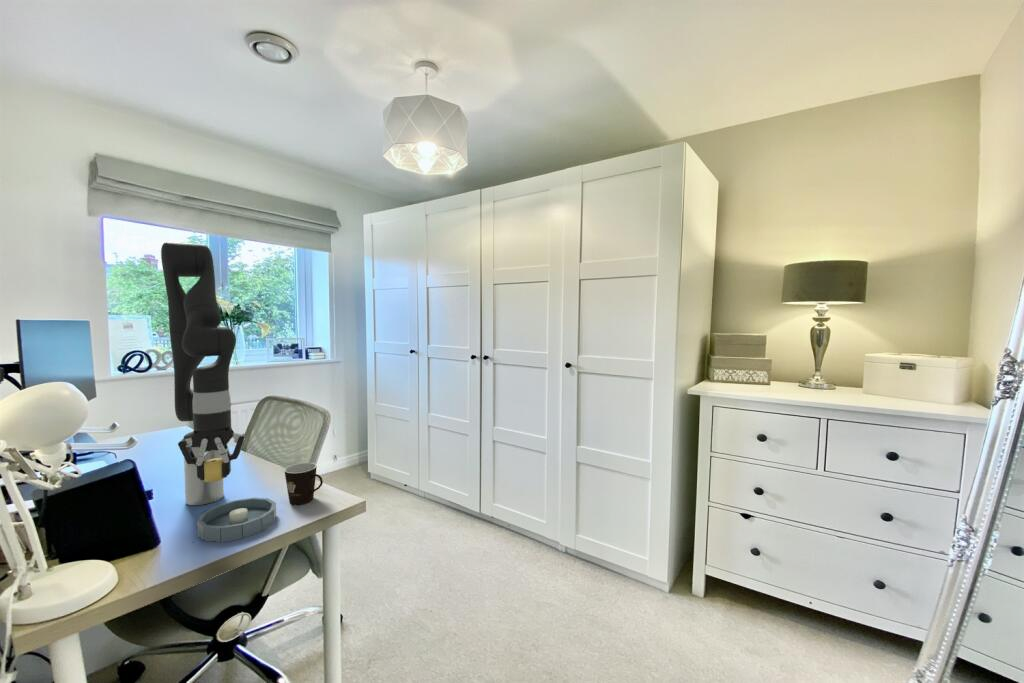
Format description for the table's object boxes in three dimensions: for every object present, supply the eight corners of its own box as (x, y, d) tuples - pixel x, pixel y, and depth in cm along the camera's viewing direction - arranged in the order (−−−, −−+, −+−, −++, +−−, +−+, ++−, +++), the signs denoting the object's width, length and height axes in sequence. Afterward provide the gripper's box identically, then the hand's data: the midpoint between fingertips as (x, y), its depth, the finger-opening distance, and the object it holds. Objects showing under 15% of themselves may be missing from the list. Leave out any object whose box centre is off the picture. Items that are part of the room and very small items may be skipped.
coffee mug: (281, 500, 125) (280, 467, 124) (311, 491, 131) (310, 460, 130) (294, 513, 117) (293, 478, 116) (325, 504, 123) (325, 470, 122)
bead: (202, 483, 100) (201, 464, 100) (206, 477, 104) (205, 459, 103) (221, 480, 102) (221, 462, 101) (225, 474, 105) (225, 457, 105)
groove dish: (189, 527, 109) (189, 514, 108) (259, 504, 122) (259, 492, 122) (213, 549, 99) (212, 534, 98) (286, 521, 112) (286, 509, 112)
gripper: (170, 414, 95) (173, 488, 96) (243, 409, 101) (245, 479, 102) (181, 408, 102) (183, 476, 103) (248, 403, 108) (250, 468, 109)
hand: (214, 477), depth 103 cm, fingers closed on bead, 4 cm apart
